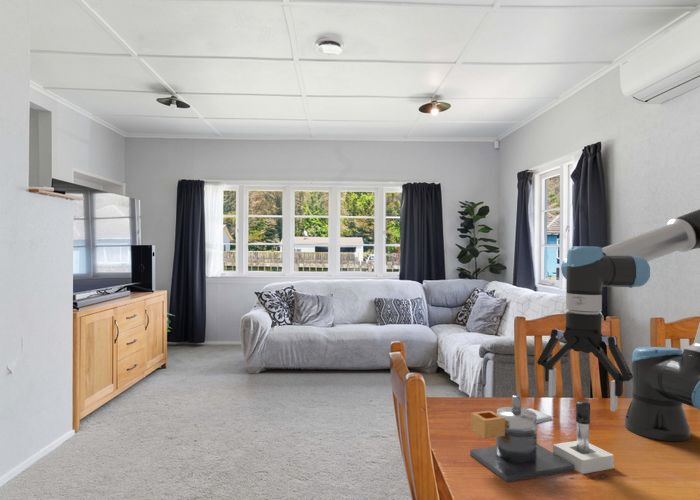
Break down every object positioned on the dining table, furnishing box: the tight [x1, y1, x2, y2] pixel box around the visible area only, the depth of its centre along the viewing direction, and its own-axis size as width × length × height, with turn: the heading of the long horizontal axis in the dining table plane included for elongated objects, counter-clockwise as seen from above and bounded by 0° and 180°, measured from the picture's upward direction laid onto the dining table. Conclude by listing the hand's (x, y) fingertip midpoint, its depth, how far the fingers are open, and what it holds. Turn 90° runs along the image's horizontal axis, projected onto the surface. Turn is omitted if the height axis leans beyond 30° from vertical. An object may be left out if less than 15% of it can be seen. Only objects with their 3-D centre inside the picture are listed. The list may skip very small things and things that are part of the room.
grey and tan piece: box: [470, 394, 538, 439], centre depth 109 cm, size 15×9×8 cm, turn 109°
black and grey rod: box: [575, 400, 591, 454], centre depth 109 cm, size 3×3×14 cm
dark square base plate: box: [469, 432, 575, 483], centre depth 109 cm, size 18×14×7 cm
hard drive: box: [527, 407, 553, 424], centre depth 138 cm, size 2×8×12 cm
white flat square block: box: [552, 440, 615, 475], centre depth 109 cm, size 9×9×3 cm
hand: (581, 402), depth 109 cm, fingers open, 13 cm apart
